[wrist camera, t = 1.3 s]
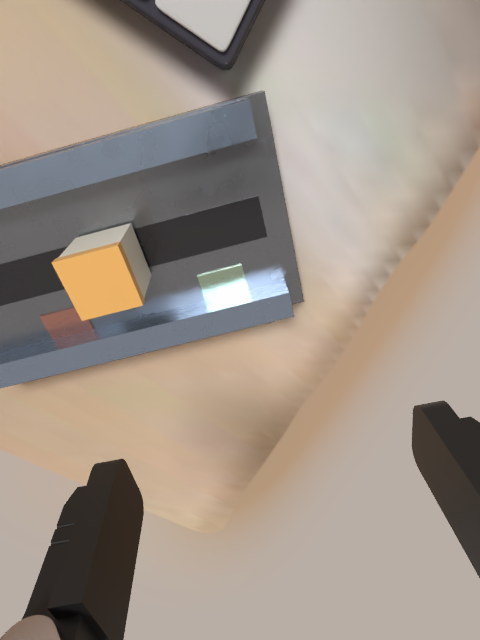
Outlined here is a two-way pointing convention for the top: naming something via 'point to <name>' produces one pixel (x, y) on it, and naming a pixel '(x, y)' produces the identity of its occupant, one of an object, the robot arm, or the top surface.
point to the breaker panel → (148, 237)
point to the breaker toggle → (104, 272)
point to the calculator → (204, 24)
